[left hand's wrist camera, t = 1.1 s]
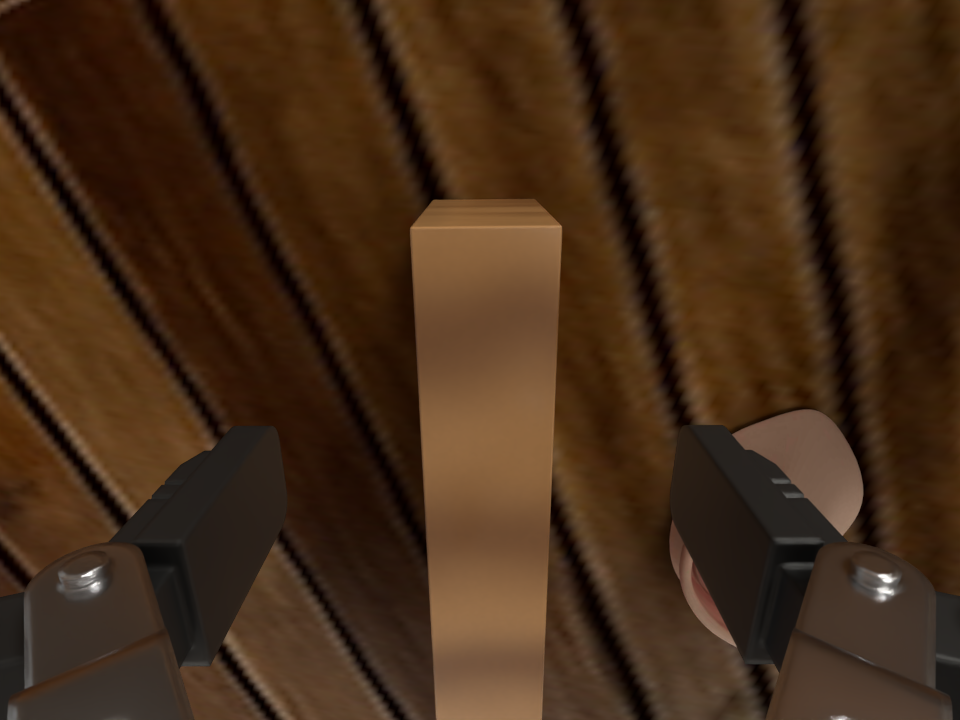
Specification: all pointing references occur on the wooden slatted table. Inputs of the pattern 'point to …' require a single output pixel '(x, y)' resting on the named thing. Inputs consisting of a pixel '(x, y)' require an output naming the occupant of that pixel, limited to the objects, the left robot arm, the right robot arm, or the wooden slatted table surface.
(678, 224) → the wooden slatted table surface
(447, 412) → the bar
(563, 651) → the wooden slatted table surface
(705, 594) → the anatomical model
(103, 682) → the left robot arm
